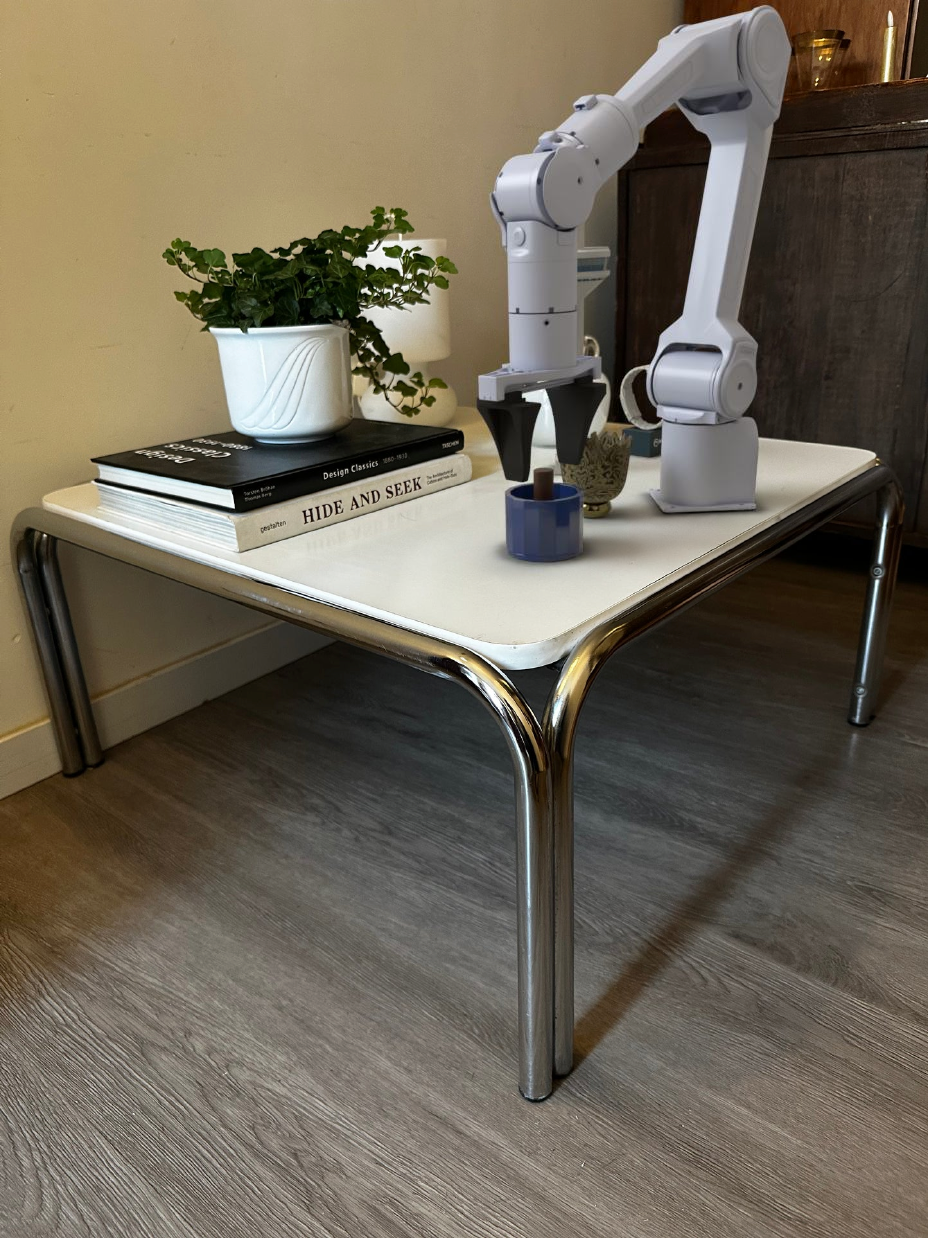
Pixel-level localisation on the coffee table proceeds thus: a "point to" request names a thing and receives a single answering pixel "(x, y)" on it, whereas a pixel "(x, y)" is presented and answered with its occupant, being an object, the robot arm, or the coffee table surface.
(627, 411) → the watch
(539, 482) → the brown cylinder
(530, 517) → the cup
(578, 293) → the model tower
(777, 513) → the coffee table surface
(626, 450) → the cup
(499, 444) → the robot arm
